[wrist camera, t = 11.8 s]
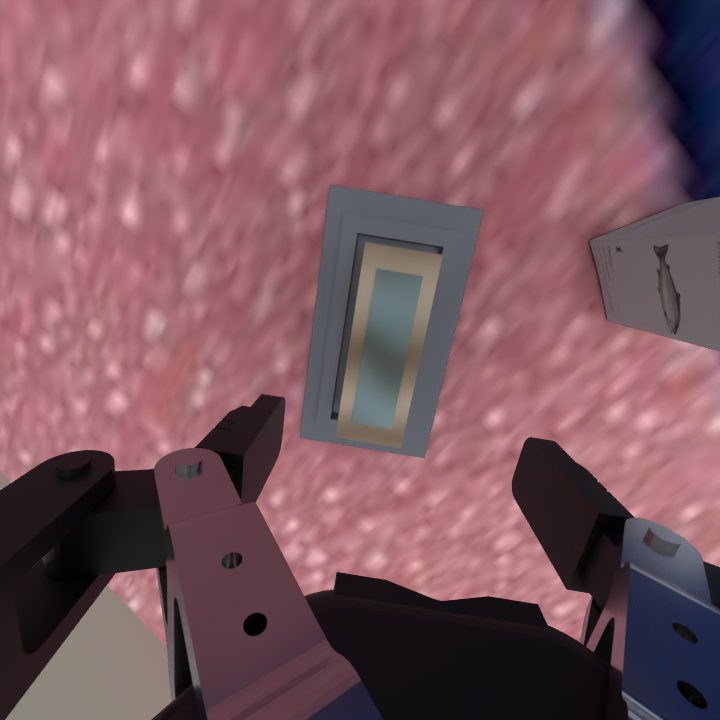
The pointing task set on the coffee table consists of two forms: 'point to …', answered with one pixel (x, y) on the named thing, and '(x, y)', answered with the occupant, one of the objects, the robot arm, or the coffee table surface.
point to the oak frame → (386, 342)
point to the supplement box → (665, 273)
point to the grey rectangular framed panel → (339, 293)
